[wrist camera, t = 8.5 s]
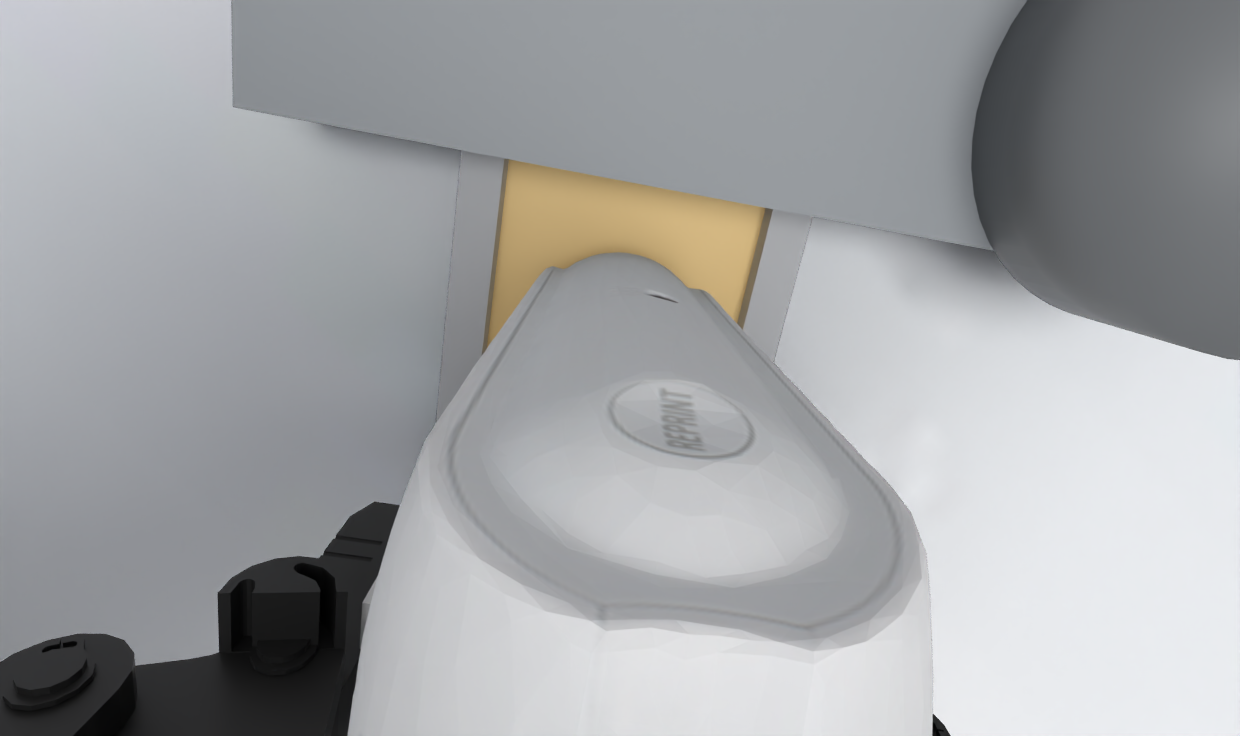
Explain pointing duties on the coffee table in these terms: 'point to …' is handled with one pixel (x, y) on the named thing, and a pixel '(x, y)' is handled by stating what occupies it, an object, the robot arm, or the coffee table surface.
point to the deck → (795, 140)
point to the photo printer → (642, 540)
